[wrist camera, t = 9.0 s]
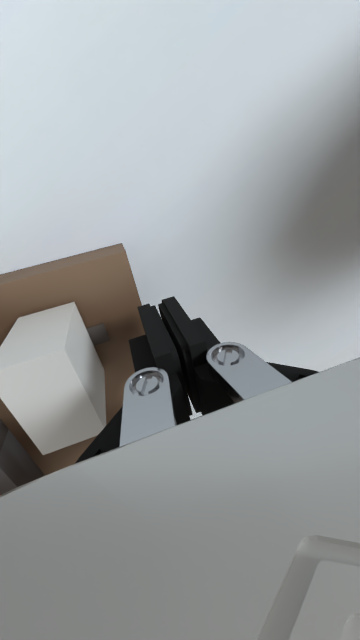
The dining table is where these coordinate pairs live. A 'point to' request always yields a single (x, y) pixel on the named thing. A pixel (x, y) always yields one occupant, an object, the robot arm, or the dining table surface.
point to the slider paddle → (53, 378)
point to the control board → (102, 326)
